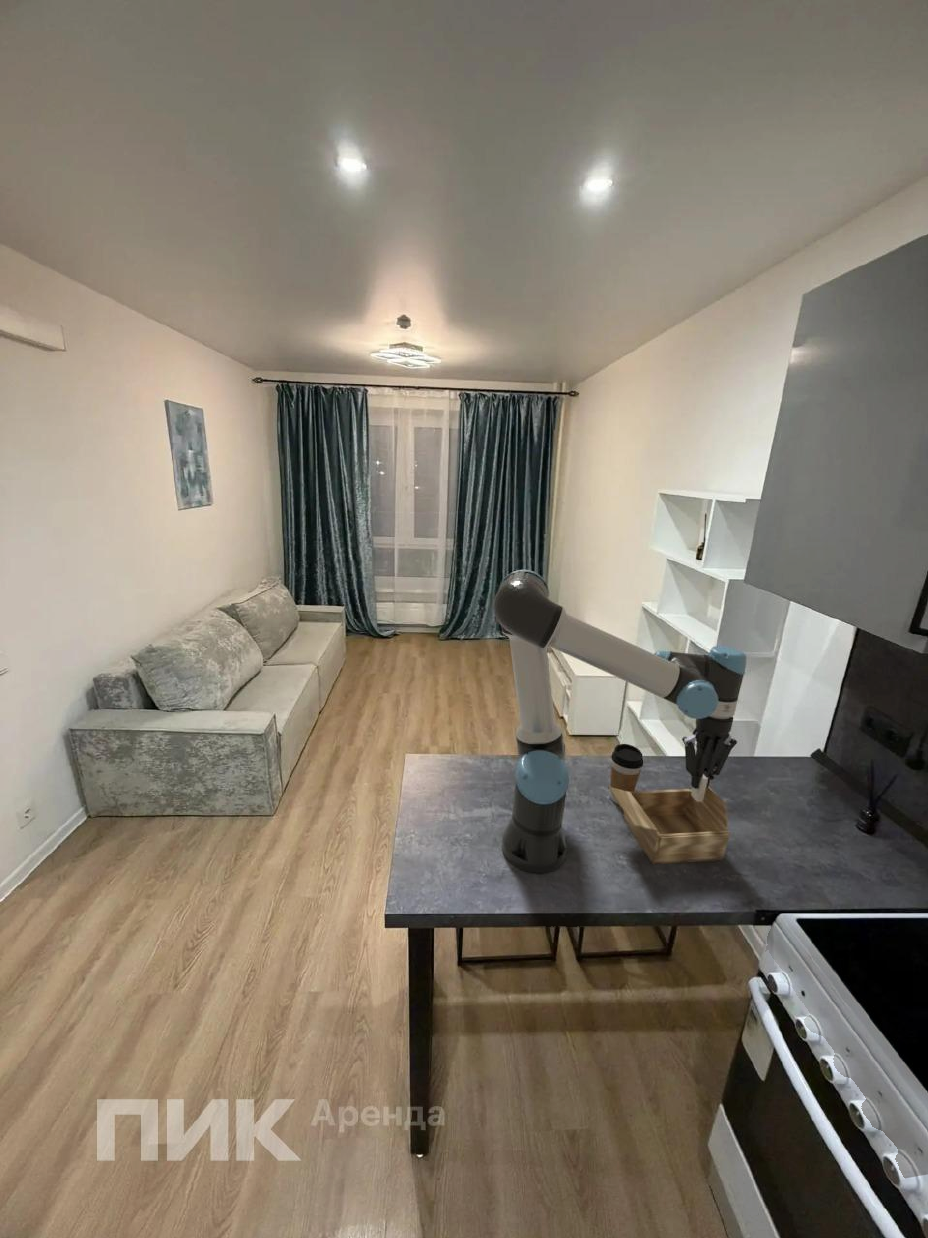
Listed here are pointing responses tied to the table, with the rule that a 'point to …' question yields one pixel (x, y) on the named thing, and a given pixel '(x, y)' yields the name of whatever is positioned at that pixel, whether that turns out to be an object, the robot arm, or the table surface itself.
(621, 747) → the coffee cup
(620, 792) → the flap
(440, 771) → the table surface
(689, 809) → the crate
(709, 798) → the flap
